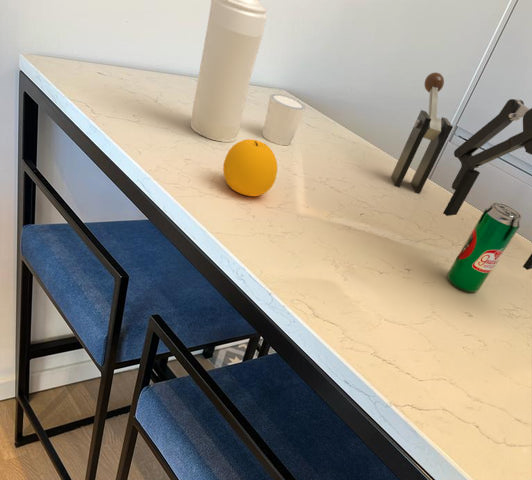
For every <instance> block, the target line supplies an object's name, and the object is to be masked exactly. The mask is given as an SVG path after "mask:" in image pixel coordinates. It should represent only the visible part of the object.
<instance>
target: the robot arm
mask: <svg viewBox="0 0 532 480" xmlns="http://www.w3.org/2000/svg"><path fill="white" fill-rule="evenodd" d="M520 119H522V131H520V132H519V133H517V134H515V135H512V136H510V137H509V138H508V139H505V140H504V141H502V142H499V143H497V144H494V145H493V146H490V147H489V148H486V149H485V150H482V151H480V152H478V153H476V151H478V150H479V149H480V148H482V147H483V146H484V145H485V144H487V143H488V142H489V141H491V140H492V139H493V138H494V137H495V136H497V135H499V133H501V132H502V131H503V130H505V129H506V128H507V127H509V125H511V124H512V123H513V122H517V121H519V120H520ZM522 148H524V150H525V151H524V152H525V153H526V154H529V155H530V156H531V155H532V107H531V108H529V107H527V106H526V105H525V103H524V101H523V100H521V99H514V98H511V99H508V100H507V101H506V102H505V104H504V105H503V107H502V108H501V110H500V111H499V113H498V114H497V115H496V116H494V117H493V118H492V119H491V120H490V121H489V122H487V123H486V124H485V125H484V126H482V127H481V128H480V129H479V130H478V131H476V132H475V133H473V134H472V136H470V137H469V138H467V140H465V141H464V142H462V144H461V145H459V146H458V147H457V148H456V149H455V150H454V151H453V156H454V157H455V158H457V159H458V160H459V162H460V163H461V165H460V168H459V170H458V172H457V174H456V176H455V178H454V180H453V182H452V184H451V189H452V190H454V192H453V194H452V196H451V197H450V200H449V201H448V203H447V205H446V207H445V208H444V211H443V212H442V214H443V215H444V216H446V217H450V216H455V215H457V214H458V213H459V211H460V209H461V208H462V206H463V204H464V202H465V201H466V198H467V197H468V195H469V193H470V192H471V190H472V188H473V186H474V185H475V182H476V181H477V179H478V177H479V175H480V174H481V172H480V171H478V170H477V169H478V168H479V167H481V166H483V165H485V164H487V163H489V162H491V161H494V160H496V159H499V158H501V157H503V156H505V155H508V154H510V153H511V152H515V151H517V150H520V149H522ZM474 153H476V154H474ZM522 268H524V269H525V270H526V271H528V270H532V253H530V255H529V257H528V258H527V260H526V261H525V263H524V264H523V266H522Z"/></svg>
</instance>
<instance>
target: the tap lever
mask: <svg viewBox="0 0 532 480" xmlns="http://www.w3.org/2000/svg"><path fill="white" fill-rule="evenodd" d="M423 85H424V89H425V90H426V91H427V92H428V93H429V98H428V99H429V100H428V115H429V117H430V118H431V122H430V124H429V126H428V128H427V130H426V132H425V134H424V136H423V138H424V139H427V140H428V141H429V140H430V141H431V140H432V141H434V140H435V139H436V138H437V136H438V135H439V134H440V132H441V118H438V116H437V115H438V97H439V96H438V94H439V92H440V91H441V90H442V89H443V87H444V86H445V79H444V76H443V75H442V73H440V72H431V73H430V74H427V77H426V78H425V79H424V84H423Z"/></svg>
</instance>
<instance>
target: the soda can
mask: <svg viewBox="0 0 532 480" xmlns="http://www.w3.org/2000/svg"><path fill="white" fill-rule="evenodd" d="M522 217H523V216H522V214H520V213H519V212H518V211H517V210H516V209H514V208H512V207H510V206H509V205H507V204H503V203H501V202H492V203H491V204H490V206H488V207H486V208H485V209H484V210H483V211H482V214H481V216H480V217H479V219H478V220H477V222H476V224H475V226H474V227H473V228H472V231H471V232H470V234H469V236H468V238H467V240H466V241H465V243H464V244H463V246H462V248H461V249H460V251H459V253H458V254H457V256H456V258H455V259H454V262H453V263H452V265H451V266H450V268H449V270H448V272H447V277H448V281H449V282H450V284H452V285H453V286H454V287H455V288H457V290H461V291H463V292H467V293H475V292H477V291H478V292H479V291H480V290H481V288H482V287H483V285H484V284H485V282H486V280H487V278H488V277H489V276H490V274H491V272H492V271H493V270H494V268H495V266H496V264H497V263H498V262H499V260H500V258H501V256H502V255H503V253H504V252H505V251H506V249H507V247H508V246H509V244H510V243H511V241H512V240H513V238H514V236H515V235H516V233H517V232H518V230H519V229H520V227H521V220H522Z"/></svg>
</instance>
